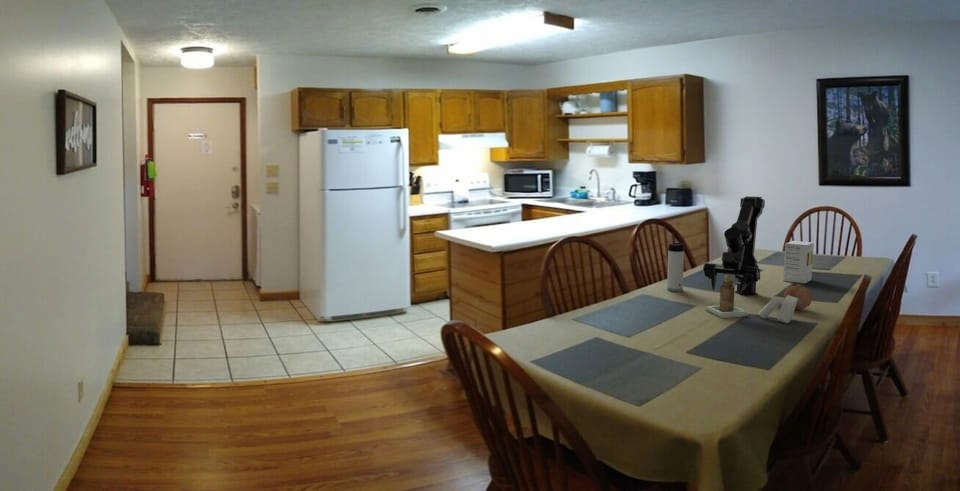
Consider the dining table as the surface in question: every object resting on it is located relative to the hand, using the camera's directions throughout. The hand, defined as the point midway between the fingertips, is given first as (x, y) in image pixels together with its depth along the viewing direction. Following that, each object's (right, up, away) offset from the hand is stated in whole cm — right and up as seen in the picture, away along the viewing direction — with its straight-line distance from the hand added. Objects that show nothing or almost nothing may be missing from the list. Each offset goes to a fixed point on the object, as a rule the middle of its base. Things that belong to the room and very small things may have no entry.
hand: (726, 291), depth 246 cm
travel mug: (-7, -2, +40) cm, 41 cm away
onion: (+28, -7, +6) cm, 29 cm away
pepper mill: (+1, -8, +3) cm, 8 cm away
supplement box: (+51, +1, +54) cm, 74 cm away
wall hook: (+15, -10, -6) cm, 19 cm away
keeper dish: (+1, -8, +3) cm, 9 cm away
